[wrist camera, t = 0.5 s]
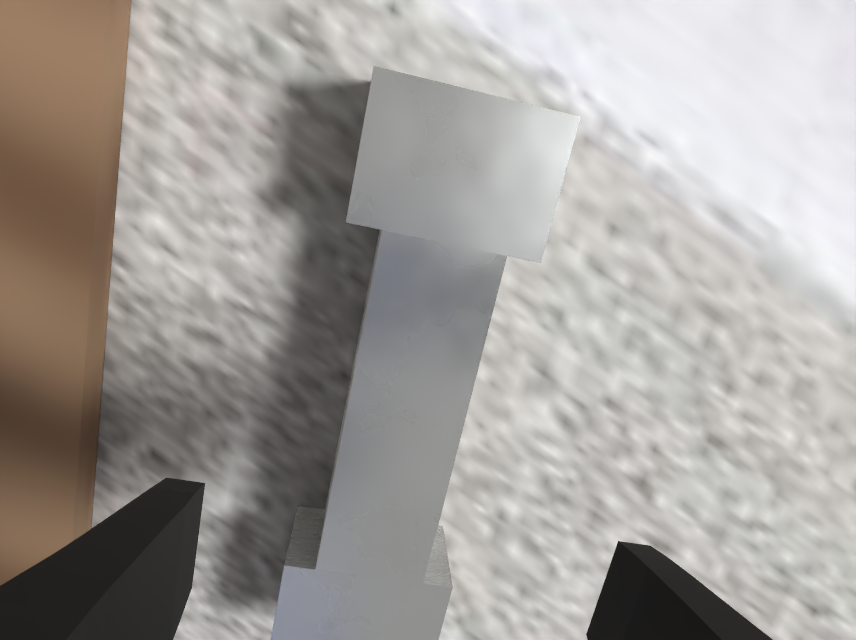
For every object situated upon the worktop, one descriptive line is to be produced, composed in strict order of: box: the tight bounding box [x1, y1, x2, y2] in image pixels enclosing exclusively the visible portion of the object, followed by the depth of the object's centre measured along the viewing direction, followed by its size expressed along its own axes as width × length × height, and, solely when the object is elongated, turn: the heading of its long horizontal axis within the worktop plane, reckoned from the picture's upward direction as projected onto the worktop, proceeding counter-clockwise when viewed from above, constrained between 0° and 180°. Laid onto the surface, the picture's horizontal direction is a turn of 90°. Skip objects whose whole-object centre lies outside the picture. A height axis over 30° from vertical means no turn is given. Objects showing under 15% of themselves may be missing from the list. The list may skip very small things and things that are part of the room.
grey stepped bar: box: [271, 66, 580, 640], centre depth 17 cm, size 17×5×3 cm, turn 168°
